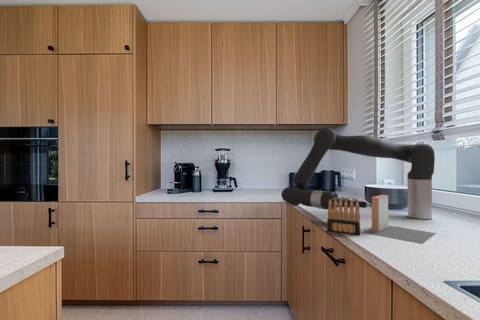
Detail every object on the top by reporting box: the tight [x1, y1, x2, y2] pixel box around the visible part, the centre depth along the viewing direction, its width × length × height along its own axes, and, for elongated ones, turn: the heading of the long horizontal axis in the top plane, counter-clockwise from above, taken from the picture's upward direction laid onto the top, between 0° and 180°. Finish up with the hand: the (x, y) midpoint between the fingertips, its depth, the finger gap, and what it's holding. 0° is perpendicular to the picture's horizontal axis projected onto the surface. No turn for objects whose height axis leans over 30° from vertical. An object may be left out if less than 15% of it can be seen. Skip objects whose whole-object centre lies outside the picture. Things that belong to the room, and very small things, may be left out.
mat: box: [360, 225, 437, 245], centre depth 94 cm, size 18×18×1 cm
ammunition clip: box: [326, 199, 361, 236], centre depth 94 cm, size 11×2×12 cm, turn 60°
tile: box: [371, 194, 389, 232], centre depth 98 cm, size 10×2×12 cm, turn 133°
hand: (366, 204), depth 102 cm, fingers closed
